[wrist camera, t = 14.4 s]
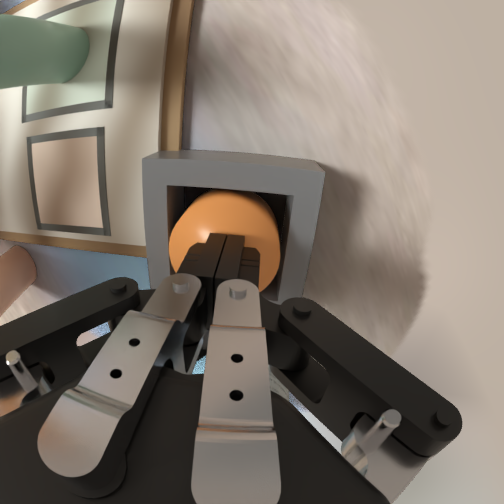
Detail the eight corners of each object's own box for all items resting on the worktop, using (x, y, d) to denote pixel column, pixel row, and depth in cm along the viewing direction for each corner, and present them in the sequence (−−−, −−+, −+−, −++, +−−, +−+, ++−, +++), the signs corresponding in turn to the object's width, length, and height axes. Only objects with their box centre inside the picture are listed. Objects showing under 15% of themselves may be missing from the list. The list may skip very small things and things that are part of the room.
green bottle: (40, 85, 11) (-66, 106, 4) (49, 32, 10) (-53, 27, 2) (83, 81, 12) (-31, 93, 4) (95, 23, 10) (-12, -1, 3)
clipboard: (-9, 234, 17) (-18, 241, 16) (-14, 27, 9) (-24, 26, 7) (181, 257, 17) (175, 268, 16) (203, -49, 9) (198, -59, 7)
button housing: (167, 276, 18) (152, 304, 15) (163, 148, 14) (141, 158, 12) (292, 289, 18) (296, 320, 15) (314, 160, 14) (325, 172, 12)
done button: (183, 269, 16) (171, 295, 14) (182, 182, 14) (167, 197, 12) (272, 278, 16) (273, 306, 14) (284, 191, 14) (287, 207, 12)
